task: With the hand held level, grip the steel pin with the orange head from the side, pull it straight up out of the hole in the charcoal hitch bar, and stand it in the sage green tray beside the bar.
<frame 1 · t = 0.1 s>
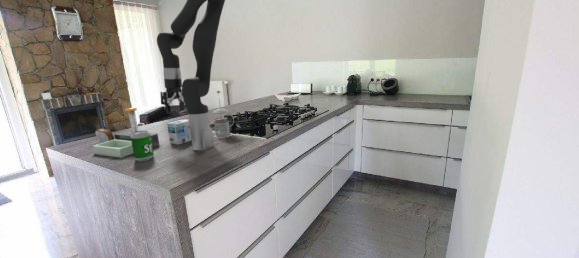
hand: (175, 111, 133), 17 cm above the counter, tool pointing down, fingers open, 8 cm apart
french press: (224, 136, 152), on the counter
tray: (118, 151, 131), on the counter
bread slice: (106, 145, 144), on the counter
hitch bar: (137, 145, 141), on the counter
pin: (134, 127, 138), in the hitch bar
soda can: (144, 159, 121), on the counter
light bulb box: (182, 141, 145), on the counter
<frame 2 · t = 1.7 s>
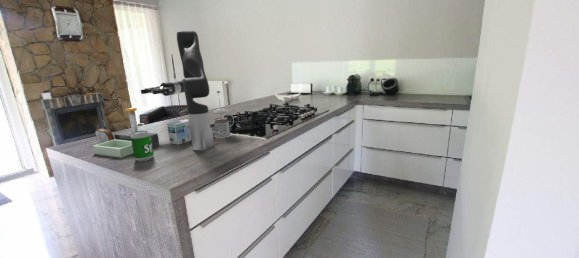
hand: (147, 92, 144), 26 cm above the counter, tool horizontal, fingers open, 8 cm apart
nothing on the counter moved.
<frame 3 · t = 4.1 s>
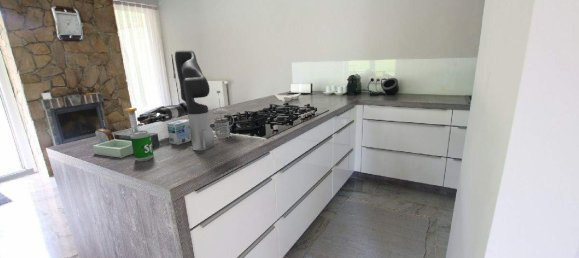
hand: (143, 119, 143), 12 cm above the counter, tool horizontal, fingers open, 8 cm apart
nothing on the counter moved.
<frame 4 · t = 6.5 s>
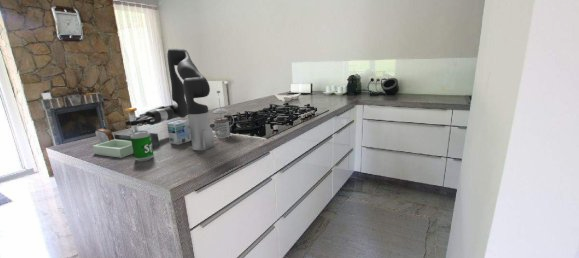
hand: (128, 123, 135), 12 cm above the counter, tool horizontal, fingers closed on pin, 2 cm apart
pin: (134, 127, 138), in the hitch bar, touching gripper
everything else where it was.
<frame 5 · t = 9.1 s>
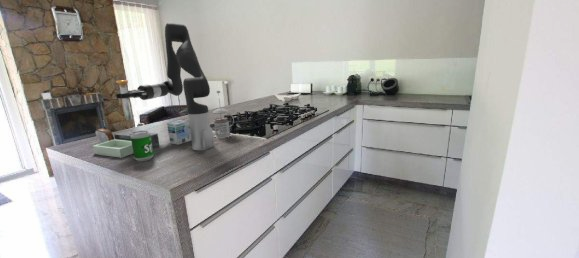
hand: (119, 96, 130), 26 cm above the counter, tool horizontal, fingers closed on pin, 2 cm apart
pin: (125, 100, 133), point 23 cm above the counter, touching gripper
everything else where it was.
when the fingers open (13 cm above the counter, at t = 12.2 s): pin stays where it is, resting on tray.
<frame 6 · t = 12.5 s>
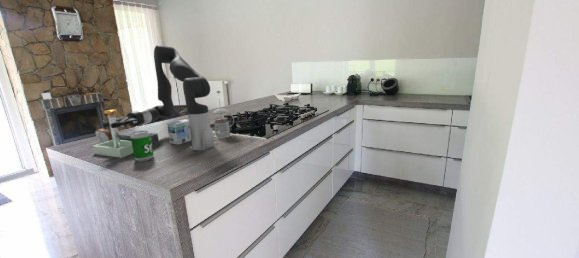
hand: (107, 125, 126), 14 cm above the counter, tool horizontal, fingers open, 5 cm apart
pin: (114, 130, 129), in the tray, point 10 cm above the counter
everything else where it was.
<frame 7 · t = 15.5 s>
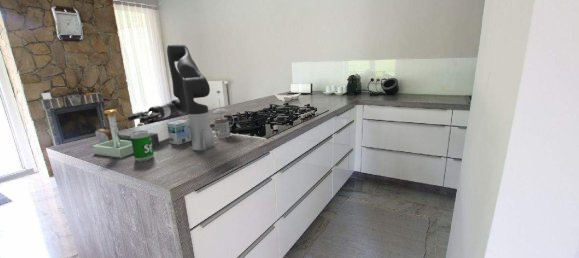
hand: (134, 119, 138), 13 cm above the counter, tool horizontal, fingers open, 8 cm apart
nothing on the counter moved.
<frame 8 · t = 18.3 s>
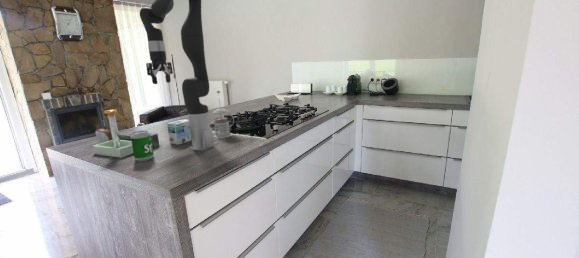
hand: (162, 83, 143), 30 cm above the counter, tool pointing down, fingers open, 8 cm apart
nothing on the counter moved.
at the end: pin inside the target area on the tray (0.1 cm from its centre), point 10.5 cm above the tray's base; the gripper is holding nothing; pin touching tray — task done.
